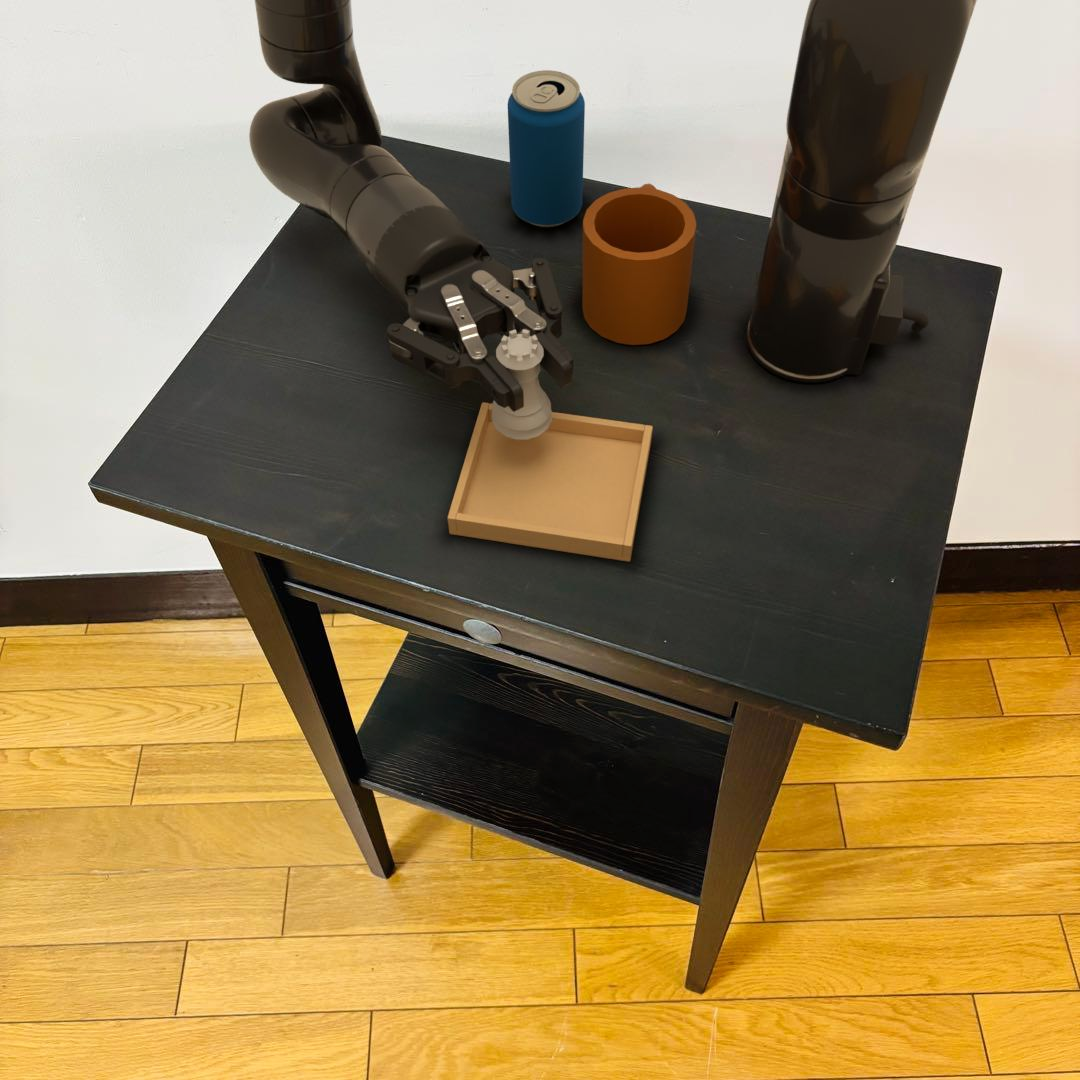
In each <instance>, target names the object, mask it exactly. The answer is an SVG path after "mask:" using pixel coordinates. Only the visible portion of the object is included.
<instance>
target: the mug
mask: <svg viewBox="0 0 1080 1080" xmlns="http://www.w3.org/2000/svg"><path fill="white" fill-rule="evenodd" d="M696 233H697V221H696V217H695V213H694V212H693V209H691V208H690V206H689V204H687V203H686V202H685V201H683V200H682V199H681V198H679V197H678V196H677V195H674V194H673V193H669V192H667V191H663V190H661V189H658V188H656V186H655V185H654V184H651V183H644V184H643V185H641V186H638V187H626V188H621V189H617V190H614V191H611V192H607V193H606V194H604V195H601V196H600V197H599V198H597V199H595V200H594V201H593V202H592V203H591V205H589V207H588V208H586V210H585V214H584V217H583V220H582V305H581V306H582V313H583V318H584V320H585V321H586V323H587V324H588V326H589V328H590V329H591V330H592V331H594V332H595V333H597V334H598V335H599V336H600V337H602V338H604V339H607V340H609V341H611V342H614V343H617V344H623V345H629V346H640V345H650V344H653V343H657V342H661V341H663V340H666V339H667V338H668V337H670V336H672V335H673V334H675V333H676V332H677V331H678V330H679V329H680V328H681V326H682V325H683V324H684V322H685V320H686V315H687V311H688V304H689V294H690V285H691V277H692V268H693V258H694V249H695V242H696Z"/></svg>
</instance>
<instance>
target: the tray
mask: <svg viewBox="0 0 1080 1080" xmlns="http://www.w3.org/2000/svg"><path fill="white" fill-rule="evenodd" d="M492 404H493V403H489V402H484V401H483V402H481V404H480V409H479V412H478V415H477V419H476V422H475V425H474V428H473V432H472V435H471V438H470V441H469V445H468V448H467V450H466V455H465V458H464V462H463V464H462V468H461V471H460V474H459V478H458V481H457V485H456V488H455V492H454V495H453V498H452V501H451V505H450V507H449V511H448V514H447V517H446V518H447V524H448V525H447V526H448V532H449V535H453V536H454V535H455V536H460V537H461V536H462V537H467V538H474V539H480V540H485V541H493V542H500V543H506V544H512V545H519V546H525V547H531V548H539V549H544V550H552V551H558V552H565V553H570V554H577V555H582V556H591V557H595V558H596V557H597V558H602V559H610V560H614V561H615V560H616V561H622V562H629V563H630V562H631V561H632V553H633V548H634V541H635V536H636V531H637V524H638V520H639V513H640V508H641V502H642V496H643V490H644V485H645V480H646V474H647V468H648V463H649V457H650V452H651V444H652V438H653V429H654V425H648V424H642V423H635V422H627V421H619V420H613V419H606V418H599V417H591V416H585V415H577V414H570V413H563V412H562V413H561V412H555V411H552V421H551V423H550V425H549V427H548V429H546V430H545V431H544V432H543V433H541V434H540V435H539V436H537V437H534V438H531V439H528V440H516V439H512V438H509V437H507V436H505V435H503V434H502V433H501V432H499V431H498V430H497V429H496V427H495V426H494V424H493V422H492Z"/></svg>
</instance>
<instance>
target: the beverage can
mask: <svg viewBox="0 0 1080 1080" xmlns="http://www.w3.org/2000/svg"><path fill="white" fill-rule="evenodd" d="M511 91H512V92H511V94H510V95H509V96H508V100H507V124H508V145H509V146H508V150H509V154H508V155H509V172H510V174H509V176H510V198H511V199H510V200H511V201H510V202H511V203H510V204H511V208H512V211H513V212H514V213H515V215H516V217H518V218H519V219H521V220H522V221H524V222H526V223H529V224H531V225H534V226H536V227H540V228H541V227H542V228H551V227H557V226H560V225H563V224H564V223H566V222H569V221H571V220H572V219H574V218H575V217H576V216H577V215H578V214H579V213H580V211H581V209H582V207H583V198H584V197H583V193H584V191H583V190H584V189H583V188H584V187H583V186H584V151H585V112H586V102H585V98H584V96H583V94H582V92H581V88H580V84H579V82H578V81H577V80H576V79H575V78H574V76H573V77H572V76H571V75H570V74H568V73H565V72H562V71H557V70H549V69H546V70H545V69H543V70H536V71H531V72H528V73H526V74H523V75H522V76H521V77H519V78H518V79H516V81H515V82H514V83H513V85H512V88H511Z"/></svg>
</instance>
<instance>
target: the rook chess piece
mask: <svg viewBox="0 0 1080 1080" xmlns="http://www.w3.org/2000/svg"><path fill="white" fill-rule="evenodd" d="M543 356H544V351H543V347H542V346H541V344H540V342H538V339H537V337H536V336H535V335H533V336H530V331H528V330H524V329H523V331H522V334H517V332H516V329H515V330H512V331H509V337H507V336H505V335H504V336H502V338H501V340H500V342H499V344H498V345H497V347H496V349H495V357H496V358H497V359H498V360H499V361H500V363H501V364H502V365H503V366H504V367H505V368H506V369H507V370H508V372H509V373H510V374H511V375H512V376H513V377H514V378H515V379H516V381H517V382H518V383H519V384H520V385H521V387H522V389H523V395H524V407H523V408H521V409H519V410H517V411H515V412H513V411H512V410H511V409H510V408H509V406H508V407H506V408H503V407H501V406H499V405H498V404H497V403H496V402H495V401H494V400H493V401H492V403H491V404H492V422H493V424H494V426H495V427H496V429H497V430H498V431H499V432H501V433H502V434H503V435H505V436H507V437H509V438H512V439H516V440H528V439H531V438H534V437H537V436H539V435H540V434H541V433H543V432H544V431H545V430H546V429H548V427H549V425H550V423H551V421H552V412H553V410H552V402H551V400H550V398H549V396H548V395H547V393H546V391H544V390H543V389H544V388H542V387H541V385H540V379H539V374H540V373H541V365H540V361H541V360H542V358H543Z"/></svg>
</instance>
